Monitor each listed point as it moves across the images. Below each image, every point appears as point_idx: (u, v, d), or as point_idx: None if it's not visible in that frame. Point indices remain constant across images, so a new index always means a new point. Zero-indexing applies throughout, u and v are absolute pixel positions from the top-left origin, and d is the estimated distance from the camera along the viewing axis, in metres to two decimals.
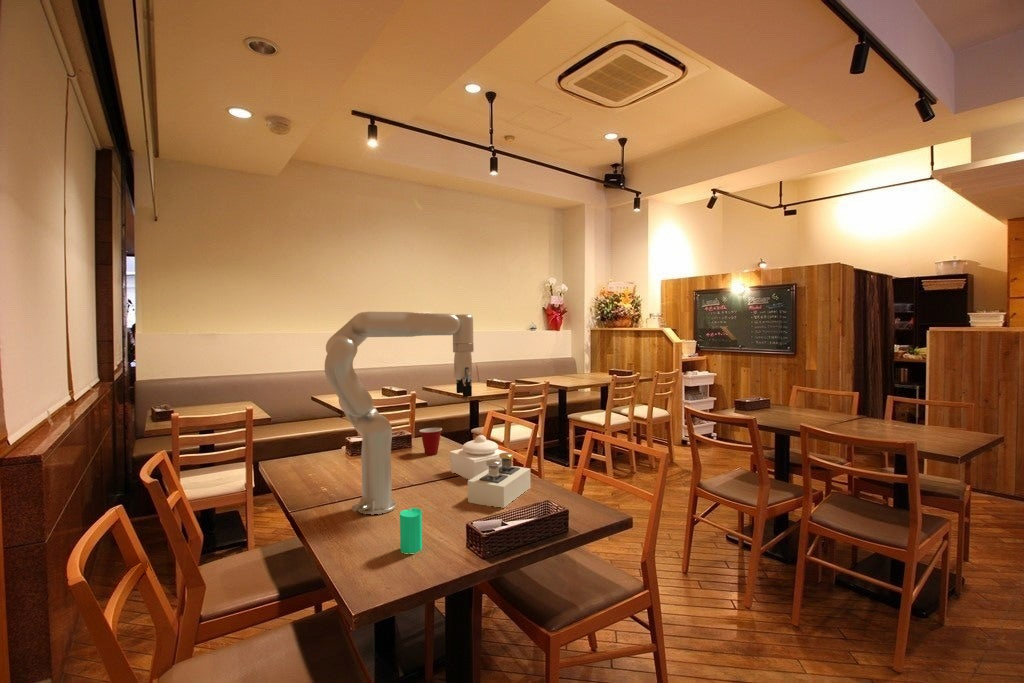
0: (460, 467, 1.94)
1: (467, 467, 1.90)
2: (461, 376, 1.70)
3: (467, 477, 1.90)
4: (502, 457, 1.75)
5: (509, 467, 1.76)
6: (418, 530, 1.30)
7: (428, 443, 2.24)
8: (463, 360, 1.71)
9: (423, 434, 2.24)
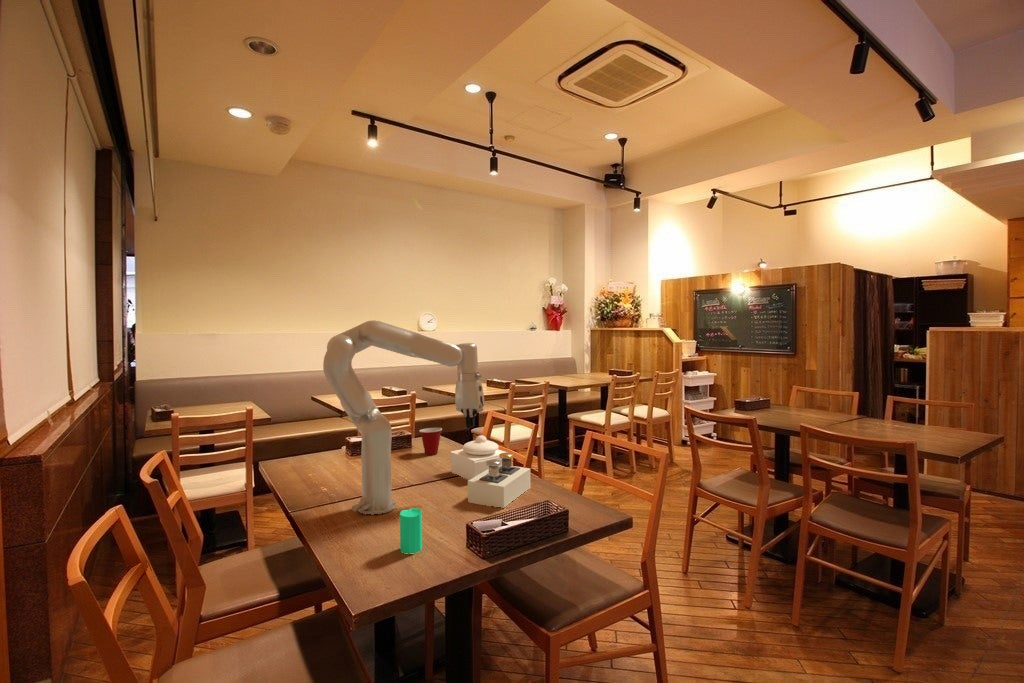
0: (460, 468, 1.93)
1: (467, 468, 1.90)
2: None
3: (467, 478, 1.90)
4: (502, 457, 1.75)
5: (509, 467, 1.76)
6: (418, 530, 1.30)
7: (428, 443, 2.24)
8: None
9: (423, 434, 2.24)
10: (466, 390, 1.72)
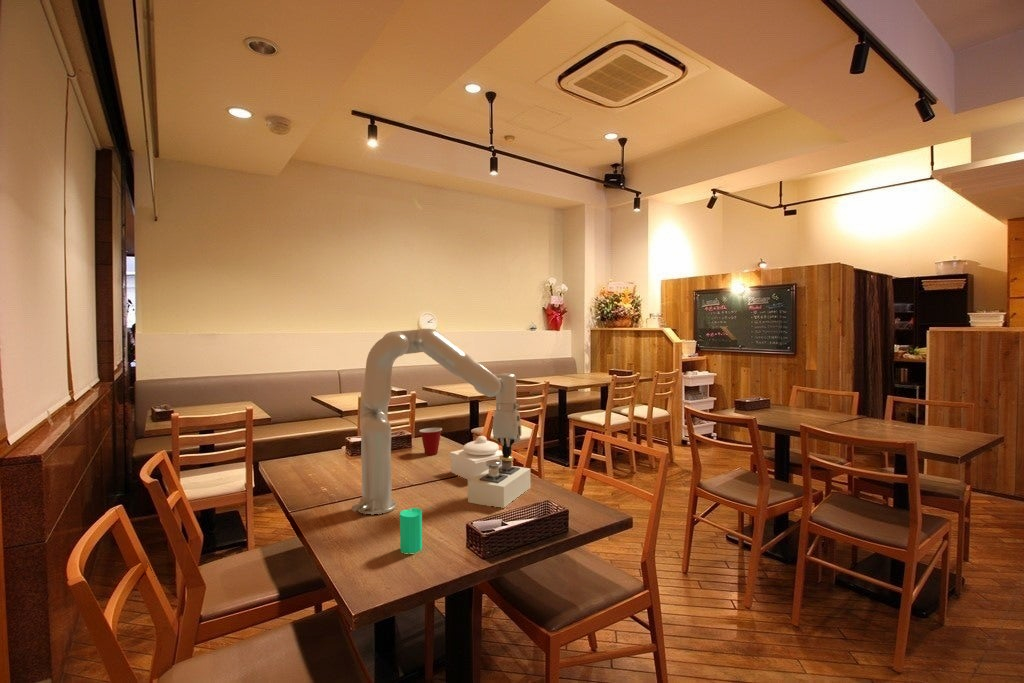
0: (461, 468, 1.93)
1: (468, 468, 1.89)
2: None
3: (468, 478, 1.89)
4: (502, 459, 1.75)
5: (509, 469, 1.76)
6: (418, 530, 1.30)
7: (428, 443, 2.24)
8: None
9: (423, 434, 2.24)
10: (504, 420, 1.74)
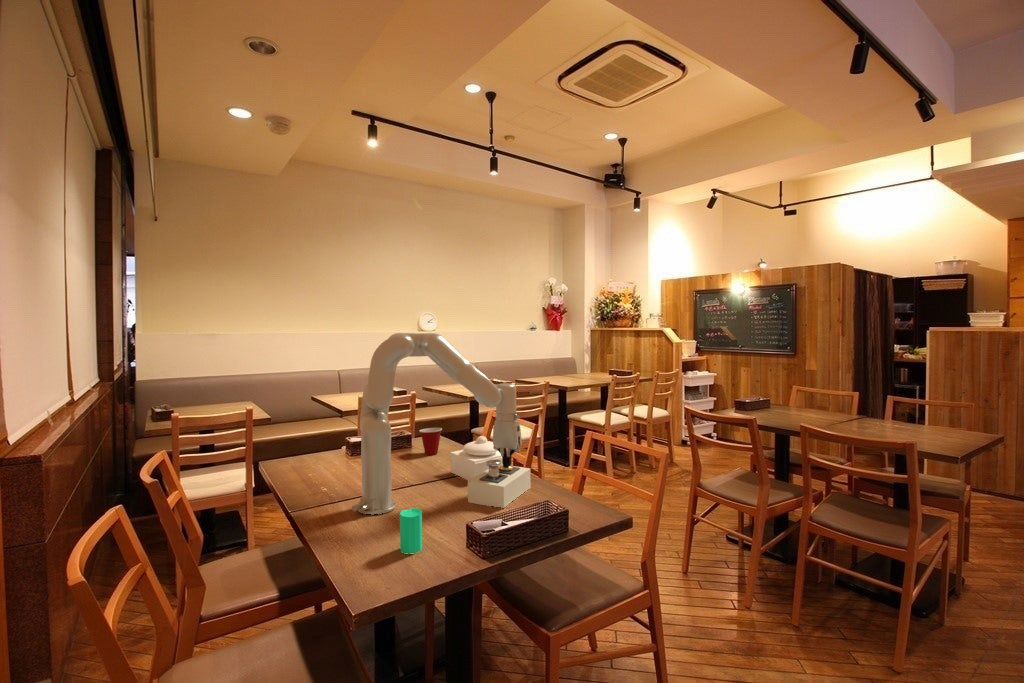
0: (461, 468, 1.92)
1: (468, 468, 1.89)
2: None
3: (468, 478, 1.89)
4: (502, 469, 1.75)
5: None
6: (418, 530, 1.30)
7: (428, 443, 2.24)
8: None
9: (423, 434, 2.24)
10: (504, 430, 1.74)
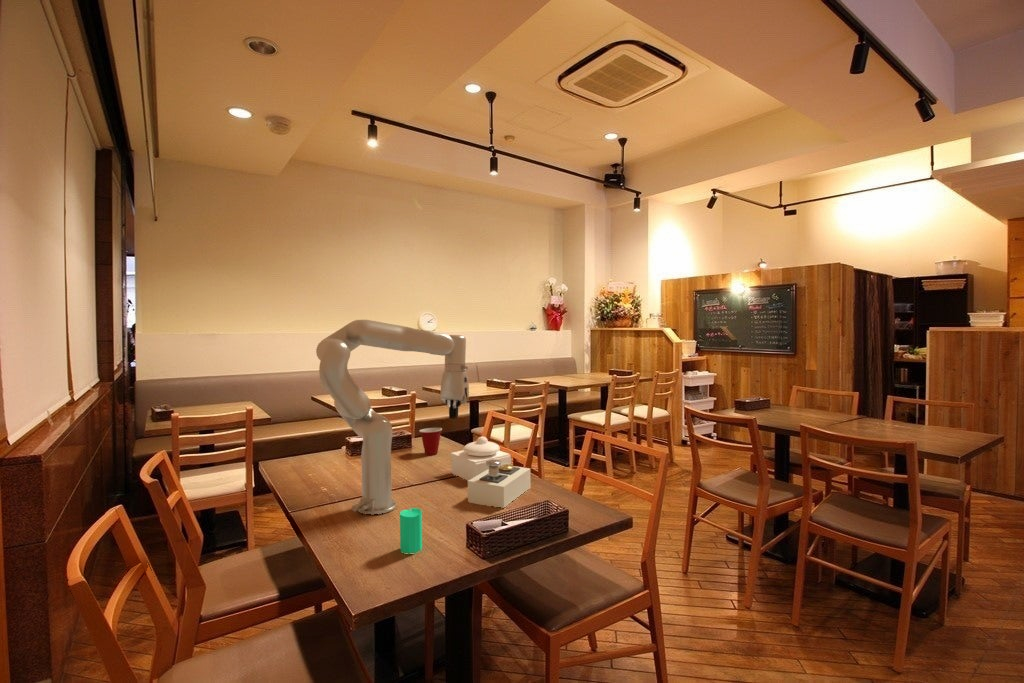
0: (461, 469, 1.92)
1: (468, 469, 1.88)
2: None
3: (468, 479, 1.88)
4: (502, 469, 1.75)
5: None
6: (418, 530, 1.30)
7: (428, 443, 2.24)
8: None
9: (423, 434, 2.24)
10: (451, 380, 1.74)
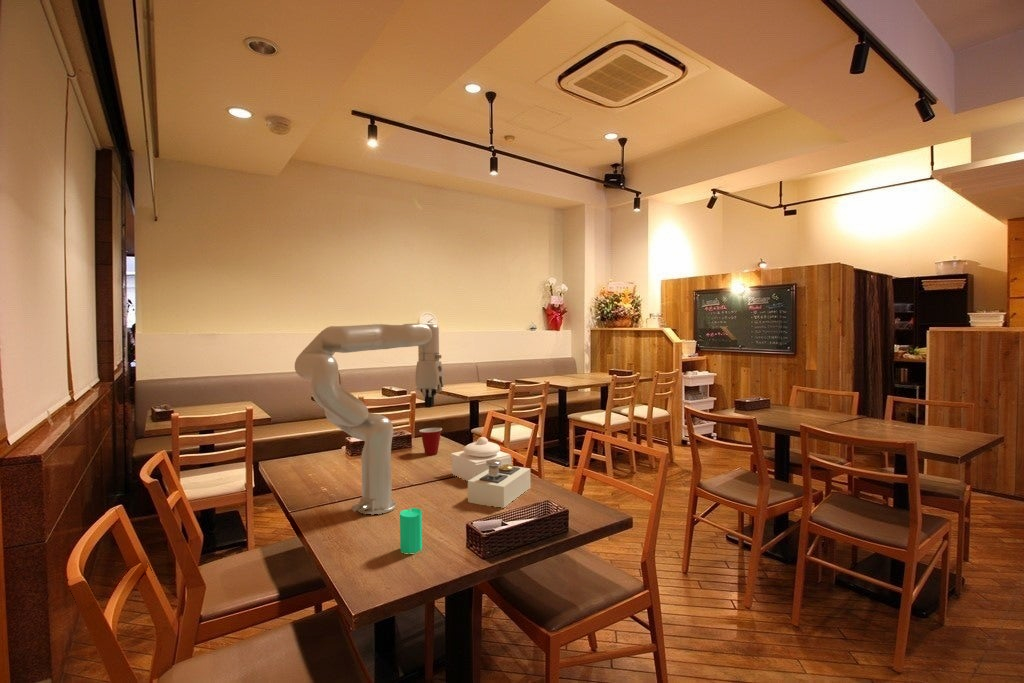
0: (461, 469, 1.91)
1: (469, 470, 1.87)
2: None
3: None
4: (502, 469, 1.75)
5: None
6: (418, 530, 1.30)
7: (428, 443, 2.24)
8: None
9: (423, 434, 2.24)
10: (426, 370, 1.74)
